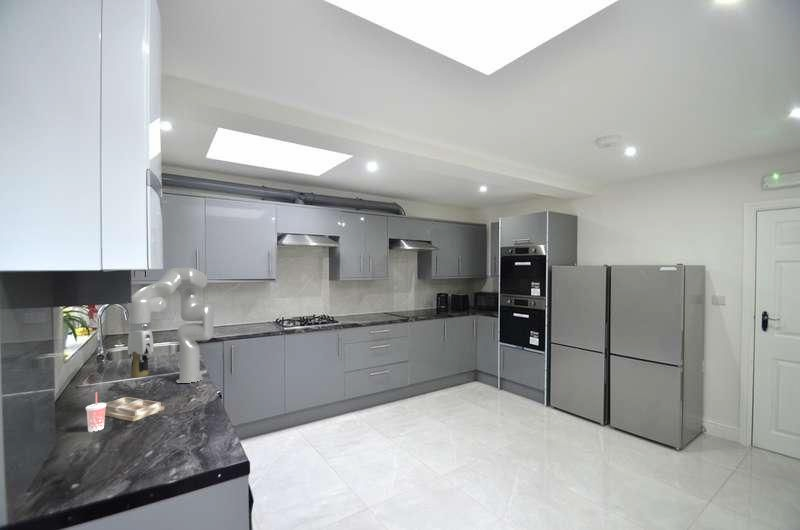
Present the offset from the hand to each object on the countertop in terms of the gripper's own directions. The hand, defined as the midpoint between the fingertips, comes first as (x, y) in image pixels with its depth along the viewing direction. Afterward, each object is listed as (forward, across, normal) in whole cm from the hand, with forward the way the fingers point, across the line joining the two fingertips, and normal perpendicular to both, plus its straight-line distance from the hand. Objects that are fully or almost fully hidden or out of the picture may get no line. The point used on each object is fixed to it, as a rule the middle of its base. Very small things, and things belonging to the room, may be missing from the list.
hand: (139, 370), depth 151 cm
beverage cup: (+18, 0, +16) cm, 25 cm away
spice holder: (+18, +6, 0) cm, 19 cm away
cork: (+2, 0, 0) cm, 2 cm away
